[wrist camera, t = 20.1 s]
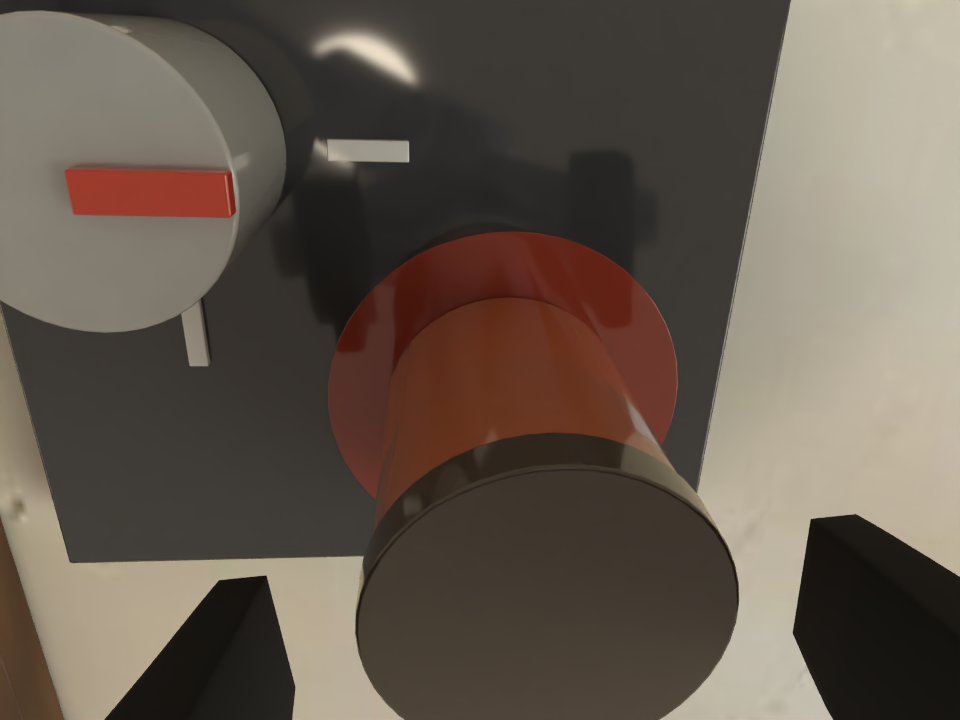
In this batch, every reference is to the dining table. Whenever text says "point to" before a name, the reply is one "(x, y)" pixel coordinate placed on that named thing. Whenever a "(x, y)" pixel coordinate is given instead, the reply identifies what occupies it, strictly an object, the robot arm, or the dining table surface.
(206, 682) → the robot arm
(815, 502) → the dining table surface
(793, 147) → the dining table surface
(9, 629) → the spice shelf
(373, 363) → the disc
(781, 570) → the dining table surface
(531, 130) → the hob
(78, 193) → the hob knob
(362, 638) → the jar
